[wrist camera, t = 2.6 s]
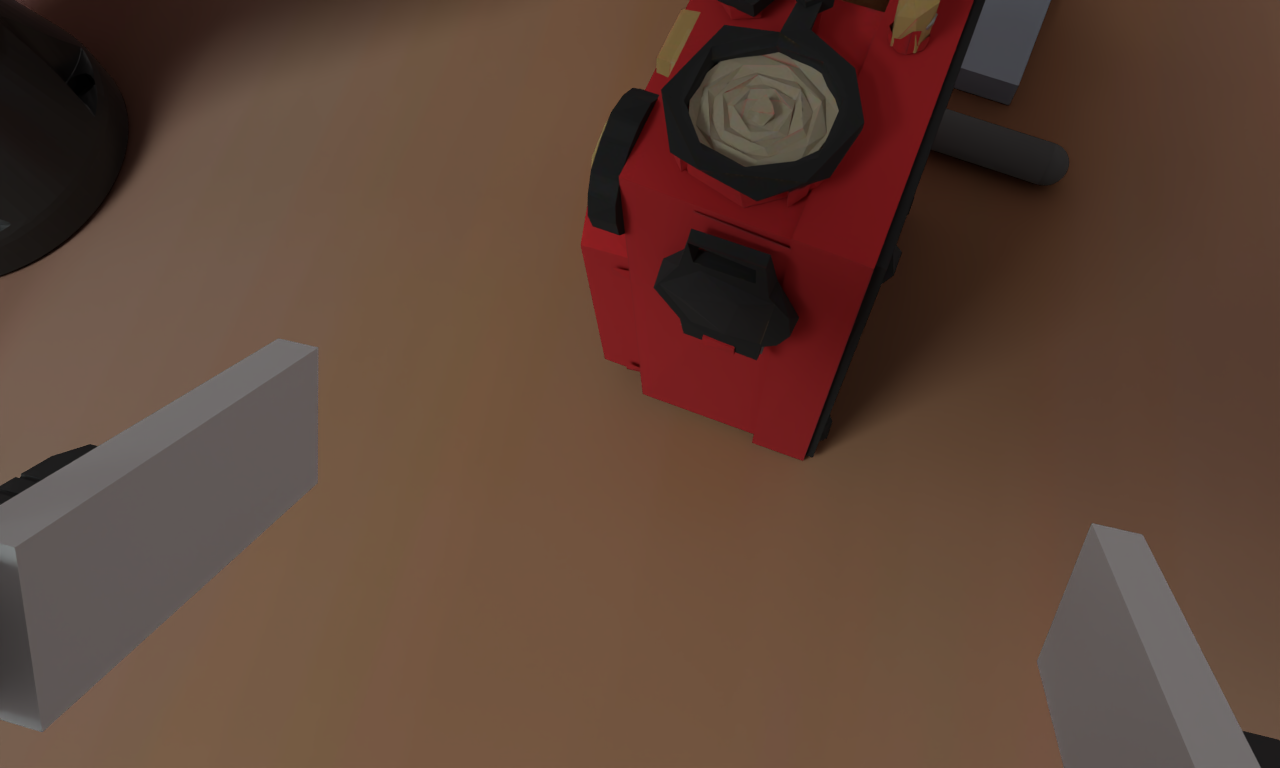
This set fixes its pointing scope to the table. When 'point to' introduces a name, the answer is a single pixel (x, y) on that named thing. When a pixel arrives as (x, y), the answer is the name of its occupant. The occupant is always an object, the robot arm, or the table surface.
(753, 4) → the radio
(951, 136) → the rod
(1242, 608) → the table surface
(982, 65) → the board
